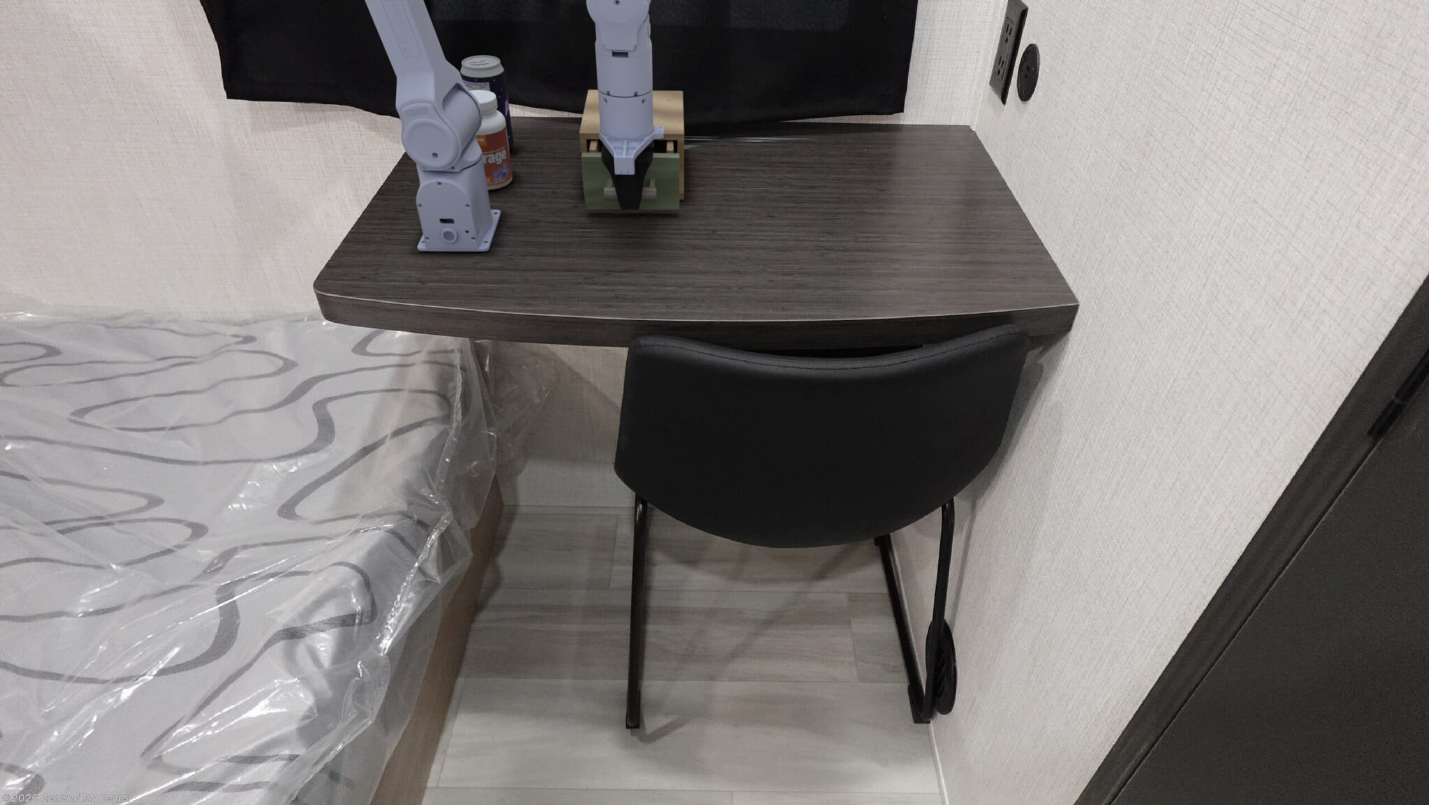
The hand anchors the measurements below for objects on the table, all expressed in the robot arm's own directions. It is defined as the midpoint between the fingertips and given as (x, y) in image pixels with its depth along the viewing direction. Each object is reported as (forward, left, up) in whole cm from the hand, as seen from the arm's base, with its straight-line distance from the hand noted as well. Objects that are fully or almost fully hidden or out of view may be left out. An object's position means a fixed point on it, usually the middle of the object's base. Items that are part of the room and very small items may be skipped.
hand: (630, 207), depth 96 cm
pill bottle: (+15, +19, -4) cm, 24 cm away
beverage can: (+25, +20, -4) cm, 32 cm away
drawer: (+10, 0, -3) cm, 10 cm away
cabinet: (+17, 0, -4) cm, 18 cm away
